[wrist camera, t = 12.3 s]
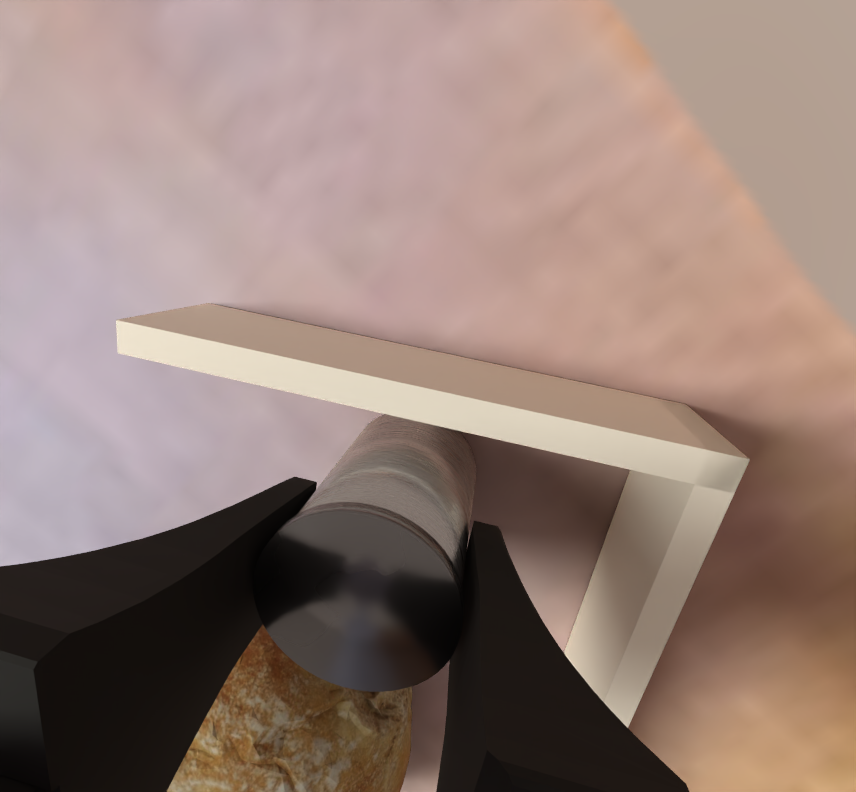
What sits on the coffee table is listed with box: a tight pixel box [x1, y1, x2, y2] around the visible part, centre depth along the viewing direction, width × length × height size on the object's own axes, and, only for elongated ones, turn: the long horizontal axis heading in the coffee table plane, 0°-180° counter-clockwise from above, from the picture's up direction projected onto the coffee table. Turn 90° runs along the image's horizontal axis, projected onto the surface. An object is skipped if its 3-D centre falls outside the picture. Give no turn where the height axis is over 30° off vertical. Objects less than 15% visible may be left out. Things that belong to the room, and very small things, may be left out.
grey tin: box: [253, 414, 476, 692], centre depth 12 cm, size 4×4×6 cm
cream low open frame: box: [116, 303, 750, 728], centre depth 15 cm, size 20×14×4 cm
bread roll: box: [167, 625, 412, 792], centre depth 16 cm, size 10×10×8 cm
